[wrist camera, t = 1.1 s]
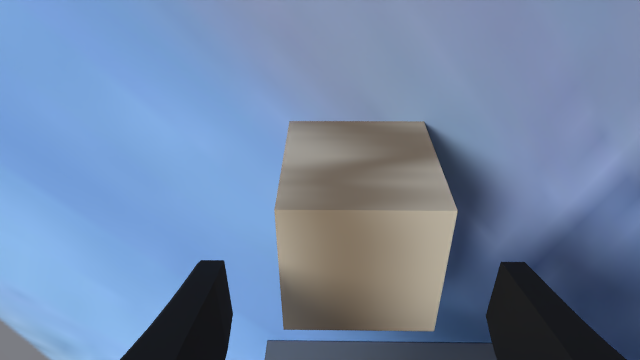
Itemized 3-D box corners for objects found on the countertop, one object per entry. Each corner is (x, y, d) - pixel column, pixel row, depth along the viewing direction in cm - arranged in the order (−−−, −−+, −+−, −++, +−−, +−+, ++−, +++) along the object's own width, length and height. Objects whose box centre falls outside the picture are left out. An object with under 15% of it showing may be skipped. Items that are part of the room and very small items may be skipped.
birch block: (423, 120, 15) (457, 211, 11) (410, 225, 18) (434, 331, 14) (289, 120, 16) (274, 209, 11) (294, 224, 18) (283, 329, 14)
